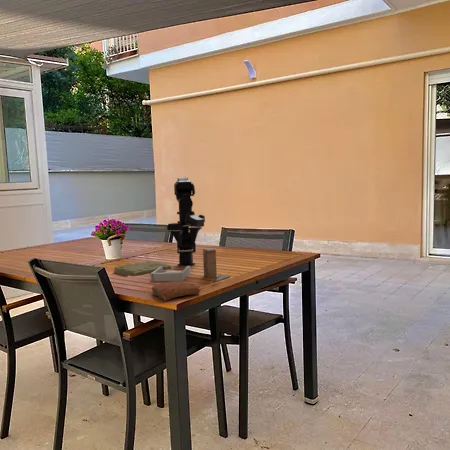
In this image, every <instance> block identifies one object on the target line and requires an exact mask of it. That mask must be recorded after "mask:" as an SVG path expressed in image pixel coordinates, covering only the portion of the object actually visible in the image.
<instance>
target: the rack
mask: <svg viewBox="0 0 450 450" xmlns="http://www.w3.org/2000/svg"><path fill="white" fill-rule="evenodd" d="M181 271H182V272H181V273H165V272H164V270H163V266H160V267H159V268H157V269H156V270H155V271H153V272H151V273H149V274H150V282H178V281H179V282H184V280H185V279H186V278H187V277H189V275H190V274H191V265H190V266H185V268H184V269H182V270H181Z"/></svg>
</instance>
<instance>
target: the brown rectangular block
mask: <svg viewBox="0 0 450 450" xmlns="http://www.w3.org/2000/svg"><path fill="white" fill-rule="evenodd" d="M202 255H203V256H202V258H203V259H202V260H203V262H202V264H203V276H204V277H205V278H208V279H214V278H215V279H216V278H217V277H218V275H217V251H216V249H214V248H212V247H207V248H202Z"/></svg>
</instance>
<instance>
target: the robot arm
mask: <svg viewBox="0 0 450 450" xmlns="http://www.w3.org/2000/svg"><path fill="white" fill-rule="evenodd" d="M173 189H174V196H175V199H176V202H177V203H178V211H176V215H178V216H179V217H178V219H179V221H178V220H177V221H176V222H172V223H171V222H170V223H167V225H166V230H167V231H169V232H170V234H172V236H173V238H174V239H175V241H176V250H177V251H176V252H177V254H179V256H178V257H179V258H178V259H179V260H178V262H179V263H177V266H180V267H187V266H190V267H191V266H193V265H196V263H195V262H194V259H193V254H194V253H196V249H197V248H196V247H197V245H196V240H197V237H198V233H199V231H200V230H202V229H203V227H205V222H206V219H205V217H206V216H205V215H204V214H199V215H196V214H195V211H194V210H193V209H192V208H193V205H194V202H193V200H192V197H194V196H195V195H196V188H195V185H194V183H193V182H192V181H191V180H189V178H188V177H187V176H179V177H177V180H176V181H175V183H174V186H173Z"/></svg>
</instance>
